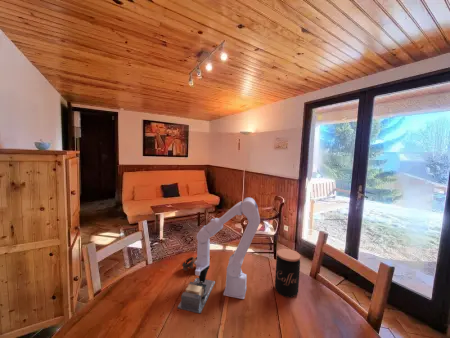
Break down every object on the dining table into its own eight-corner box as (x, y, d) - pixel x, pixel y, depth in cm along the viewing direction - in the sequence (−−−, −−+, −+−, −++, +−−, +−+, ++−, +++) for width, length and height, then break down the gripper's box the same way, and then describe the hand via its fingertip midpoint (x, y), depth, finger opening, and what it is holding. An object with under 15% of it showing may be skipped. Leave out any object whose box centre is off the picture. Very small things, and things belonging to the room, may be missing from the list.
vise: (215, 282, 98) (215, 272, 98) (200, 313, 78) (201, 301, 78) (196, 278, 100) (196, 269, 100) (177, 308, 80) (177, 296, 80)
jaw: (209, 287, 93) (209, 278, 92) (204, 298, 86) (204, 288, 85) (193, 284, 94) (194, 275, 94) (187, 294, 87) (188, 284, 87)
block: (201, 297, 86) (202, 286, 86) (198, 303, 82) (199, 292, 82) (188, 294, 87) (189, 284, 87) (185, 300, 84) (185, 289, 83)
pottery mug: (196, 279, 100) (189, 265, 100) (184, 281, 105) (177, 267, 105) (209, 263, 111) (201, 250, 110) (197, 265, 116) (190, 253, 115)
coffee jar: (272, 293, 92) (274, 255, 91) (277, 281, 101) (279, 246, 100) (296, 301, 87) (299, 262, 86) (299, 288, 96) (301, 252, 95)
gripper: (200, 246, 101) (199, 271, 102) (189, 259, 87) (188, 289, 88) (213, 248, 100) (212, 274, 100) (204, 262, 85) (203, 292, 86)
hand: (202, 281), depth 94 cm, fingers closed
